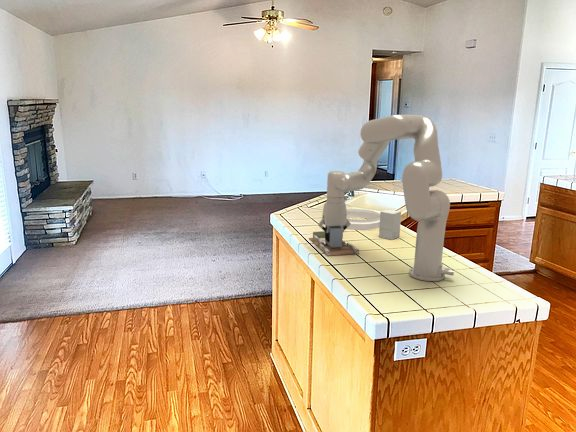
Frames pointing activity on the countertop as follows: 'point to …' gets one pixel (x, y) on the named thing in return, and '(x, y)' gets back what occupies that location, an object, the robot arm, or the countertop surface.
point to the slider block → (335, 237)
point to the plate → (368, 224)
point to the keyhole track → (337, 251)
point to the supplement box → (390, 224)
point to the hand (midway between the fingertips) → (333, 240)
